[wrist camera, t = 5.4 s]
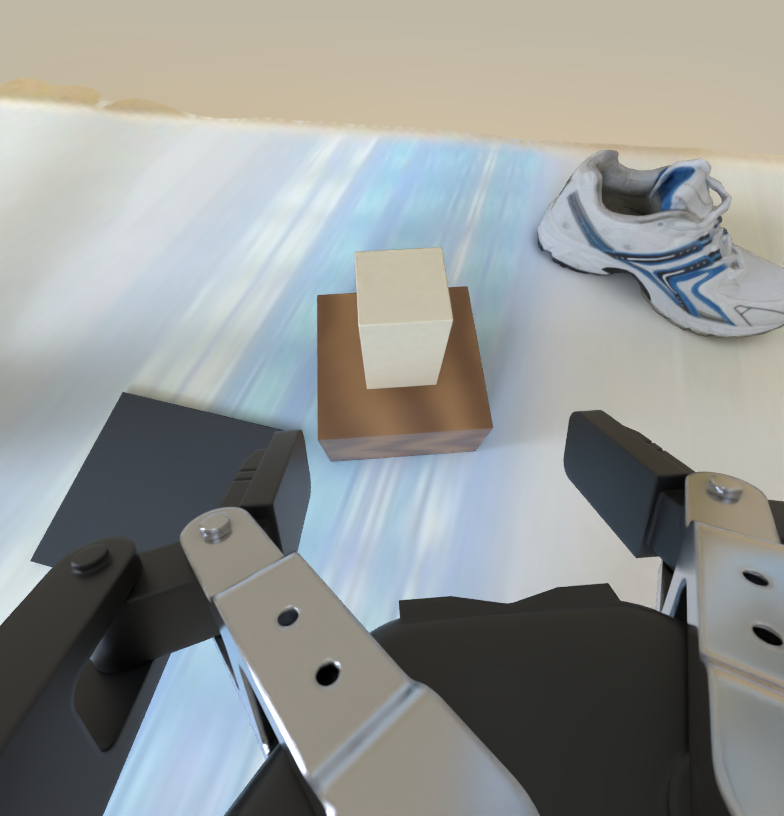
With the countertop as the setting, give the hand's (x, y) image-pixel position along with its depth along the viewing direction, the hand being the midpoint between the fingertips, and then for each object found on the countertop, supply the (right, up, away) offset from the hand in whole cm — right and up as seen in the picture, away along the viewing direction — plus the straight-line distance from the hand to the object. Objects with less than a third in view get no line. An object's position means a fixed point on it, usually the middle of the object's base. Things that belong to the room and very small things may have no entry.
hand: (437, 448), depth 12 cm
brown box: (-1, +3, +23) cm, 23 cm away
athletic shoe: (+24, +14, +27) cm, 39 cm away
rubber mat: (-18, -6, +19) cm, 27 cm away
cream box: (-1, +5, +17) cm, 18 cm away
